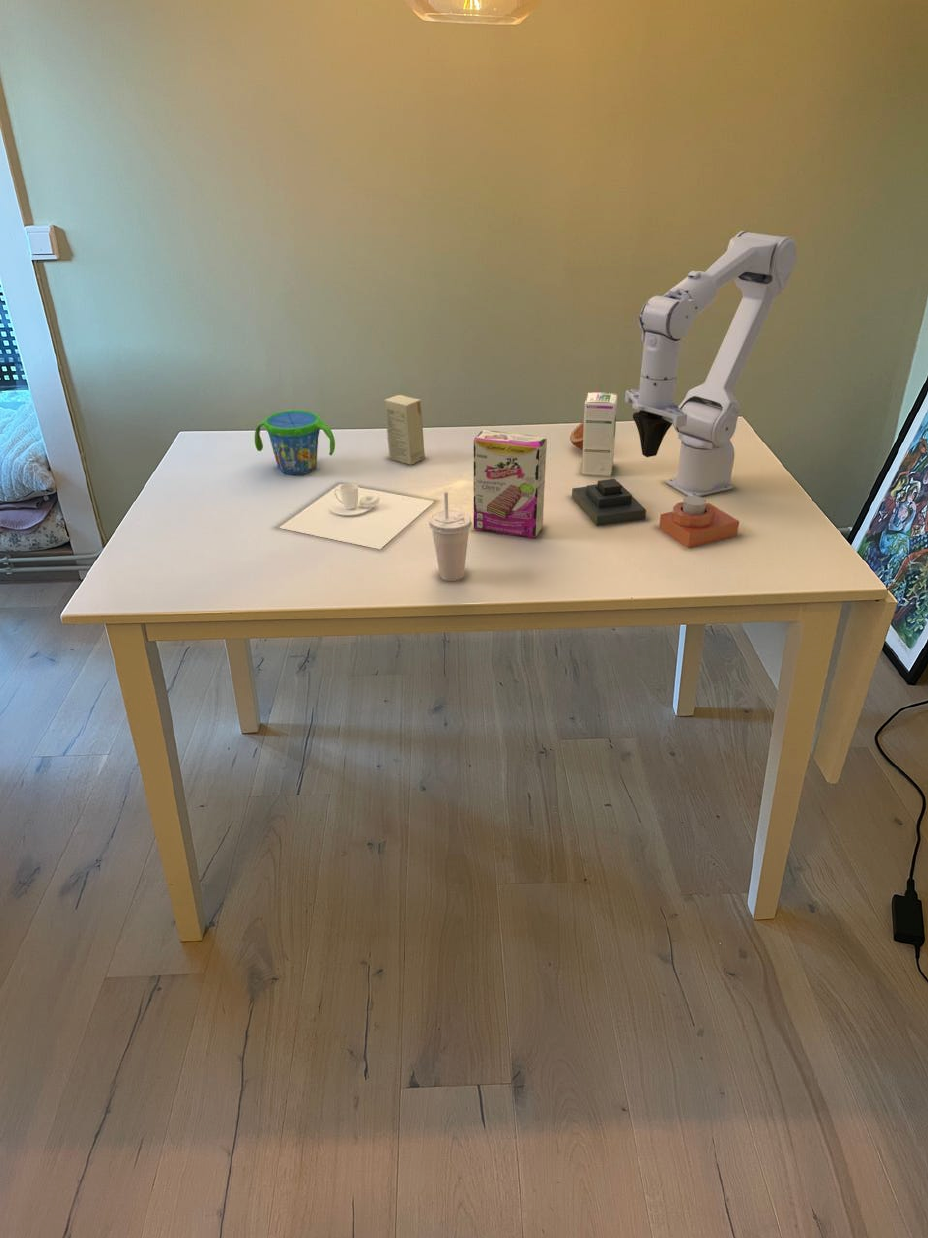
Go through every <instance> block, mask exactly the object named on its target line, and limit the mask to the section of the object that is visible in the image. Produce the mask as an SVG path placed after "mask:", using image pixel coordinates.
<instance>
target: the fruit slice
mask: <svg viewBox="0 0 928 1238" xmlns="http://www.w3.org/2000/svg"><path fill="white" fill-rule="evenodd" d="M583 432H584V420H583V421H582V422H580V424H578V425H577V426H576V427H575V428H574V429H573V430H572V432H571V434H570V436H569V440H570V442H571V444H572V445H573V446H574V447H576V448H578V449H581V450H583Z"/></svg>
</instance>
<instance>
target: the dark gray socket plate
mask: <svg viewBox="0 0 928 1238" xmlns="http://www.w3.org/2000/svg"><path fill="white" fill-rule="evenodd" d="M617 482H618V483H619V484H620V485H621V486H622V488H621V494H615V495H608V496H603V495H602V494H601V493H600V492H599V491H598V490H597V484H587V485H585V486H581V487H573V488H572V489H571V499H572V500H573V501H574V502H575V504H577V505H578V507H579V508H580V509H581V510H582V511H583V512H584V514H585V515H586V516H587V518H589V520H591V522H592V523H593V524H594V525H595V526H596V527H599V526H606V525H614V524H621V523H629V522H636V521H643V520H646V517H647V516H646V514H647V509H646V508H645V507H644V506H643V505H642V504H641V503H640V502H639V501H638V500H637V499H636V498H635V497H634V496H633V495H632V494H631V493H630V491H629V490H627V488H625V487H624V486H623V485H622V484H621V483H620V482H619V481H617Z"/></svg>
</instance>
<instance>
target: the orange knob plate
mask: <svg viewBox="0 0 928 1238" xmlns="http://www.w3.org/2000/svg"><path fill="white" fill-rule="evenodd" d="M683 502H684V501H681V502H677V503H676V504H674V505H673V507H672V510H671V511H669V512H664V513H661V514H660V518H659V527H658V528H659V530H661V531H662V532H663V533H664V534H666V535H668V536H670V537H671V538H672V539H674V540H675V541H677V542H678V543H680V544H681V545H682V546H684V547H685V548H687V549H691V548H694V547H697V546H702V545H706V544H710V543H714V542H717V541H721V540H725V539H730V538H733V537H737V536H738V534H739V533H738V531H739V526H740V520H738V519H736V518H735V517H733V516H732V515H730V514H728V513H726V512H725V511H723V510H721V509H720V508H718V507H716V506H715V505H713V504H712V503H710V502H706V507H705V513H704V514H702V515H690V514H686V513H684V512H683V511H682V509H683Z"/></svg>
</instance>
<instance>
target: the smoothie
mask: <svg viewBox="0 0 928 1238" xmlns="http://www.w3.org/2000/svg"><path fill="white" fill-rule="evenodd" d="M443 500H444V502H443V503H444V504H443V506H444V509H443V510H441V511H437V512H435V513H433V514H431V516H430V517H429V519H428V520H429V521H428V522H429V529H430V530H431V532H432V538H433V544H434V551H435V554H436V560H437V561H436V562H437V568H438V572H439V577H440V578H441V579H442V580H444V581H447V582H455V581H459V580H461V579H463V577H465V576H464V575H465V568H466V559H467V550H468V542H469V535H470V529H471V528H472V525H473V521H472V516H471V515H470V514H468V513H467V512H465V511H462V510H457V509H449V491H444V492H443Z"/></svg>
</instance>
